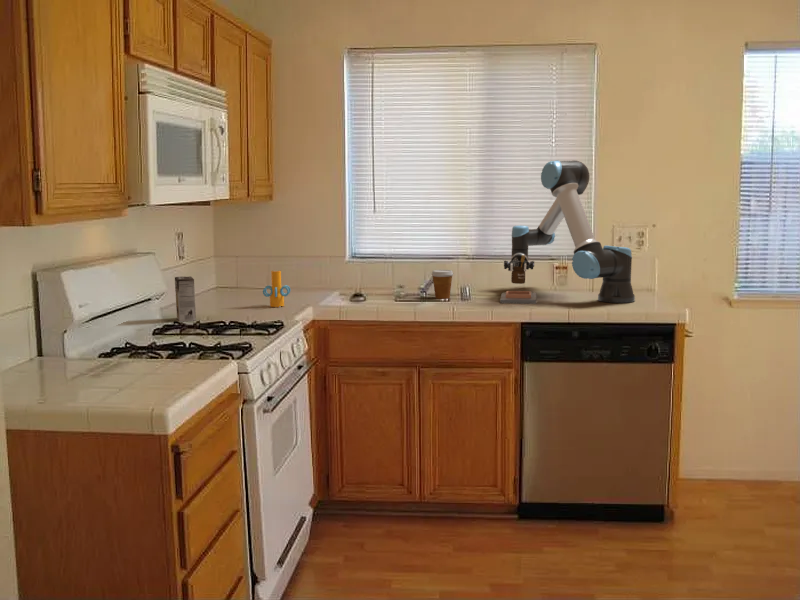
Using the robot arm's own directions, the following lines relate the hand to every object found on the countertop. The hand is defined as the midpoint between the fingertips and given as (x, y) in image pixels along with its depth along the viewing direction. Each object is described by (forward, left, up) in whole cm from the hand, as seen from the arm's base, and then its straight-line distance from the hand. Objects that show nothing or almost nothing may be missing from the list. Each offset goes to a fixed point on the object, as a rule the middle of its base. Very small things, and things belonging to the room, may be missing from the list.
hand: (518, 268), depth 370 cm
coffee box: (+37, +132, -14) cm, 138 cm away
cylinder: (+47, +90, -14) cm, 103 cm away
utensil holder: (+4, -3, -7) cm, 9 cm away
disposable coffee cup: (+27, +20, -14) cm, 37 cm away
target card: (+4, -3, -14) cm, 15 cm away
